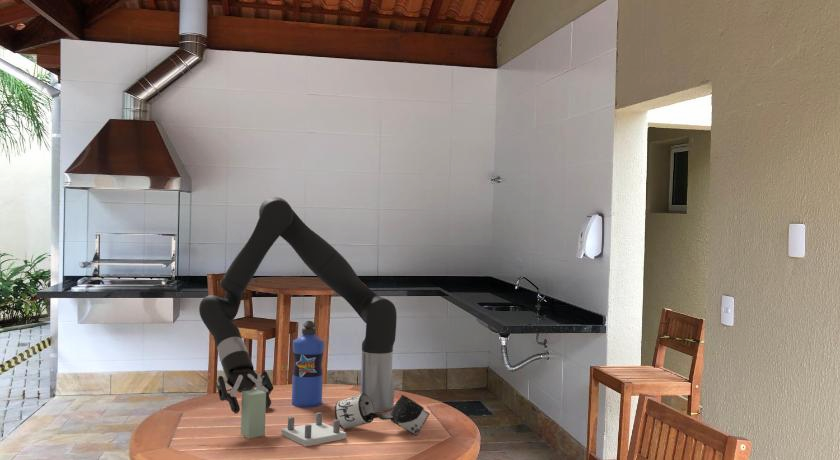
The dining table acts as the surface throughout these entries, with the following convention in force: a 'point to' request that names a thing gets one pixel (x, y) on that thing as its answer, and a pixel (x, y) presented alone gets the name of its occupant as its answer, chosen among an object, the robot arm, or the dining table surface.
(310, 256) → the robot arm
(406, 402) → the lettered night shade jar
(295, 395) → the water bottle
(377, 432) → the dining table surface
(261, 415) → the block
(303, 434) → the peg stand
